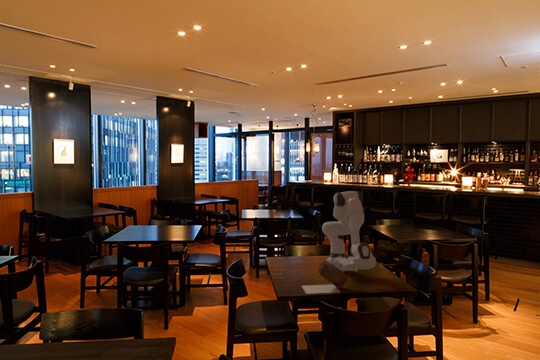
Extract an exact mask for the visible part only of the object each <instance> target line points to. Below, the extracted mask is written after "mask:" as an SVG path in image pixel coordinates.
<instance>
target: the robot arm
mask: <svg viewBox="0 0 540 360" xmlns="http://www.w3.org/2000/svg"><path fill="white" fill-rule="evenodd" d="M332 201H333V203H334V204H333V205H334V206H333V212H332V213H333V214H332V216H333V217H334V218H335V220H338V221H326V222H324V223H323V224H322V226H321V231H322V233H323V234H324V235H325V236H326V237H327V239H328V240H329V242H330V252H329V257H327V259H326V260H325V261H327V262H329V263H331V264H332V265H333V266H335V267H337V268H338V269H340V270H341V271H342V272H344V273H345V272H347V271H348V272H352V271H353V272H358V270H362V271H363V270H372V269H374V268H375V267H376V265H377V259H376V256H374V255H373V253H372V250H371V247H370V245H369V244H368V243H367V242H361V240H360V230H361V229H360V228H361V227H362V225H363V224H364V222H365V212H364V209H363V208H364V207H363V205H362V203H363V201H364V197H363V194H362V193H361V191H358V190H355V191H354V190H353V191H352V190H350V191H349V190H348V191H342V192H341V191H339V192H336V193H334V195H333V200H332ZM347 235H350V248H349V253H350V255H351V256H348V258H346V252H345V251H346V249H345V247H346V244H345V242H344V241H343V240H342V239H340V238H339V236H347Z"/></svg>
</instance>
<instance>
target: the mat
mask: <svg viewBox="0 0 540 360" xmlns="http://www.w3.org/2000/svg"><path fill="white" fill-rule="evenodd" d="M301 288H302V290H303V291H304V293H305V294H307V295H313V294H316V295H317V294H330V293H331V294H334V293H338V294H339V293H341V291H340V290H339V288H337V287H336V286H334V285H333V284H332V283H330V284H313V285H301Z"/></svg>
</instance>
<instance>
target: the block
mask: <svg viewBox="0 0 540 360" xmlns="http://www.w3.org/2000/svg"><path fill="white" fill-rule="evenodd" d="M317 271H318V275H320V276H321V278H323V279H324V280H326V281H327V282H329V283H330V284H333V285H334V286H335V287H336V288H337V289H341V288H343V287H344V286H345V284H347V282H348V280H349V276H348V275H347V273H345V271H344V272H342V271H341V270H340V269H338V268H337V267H335V266H333V265H332V264H331V263H329V262H327V261H326V260H325V259H324V260H323V261H322V262H321V263H320V264H319V265H318V267H317Z"/></svg>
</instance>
